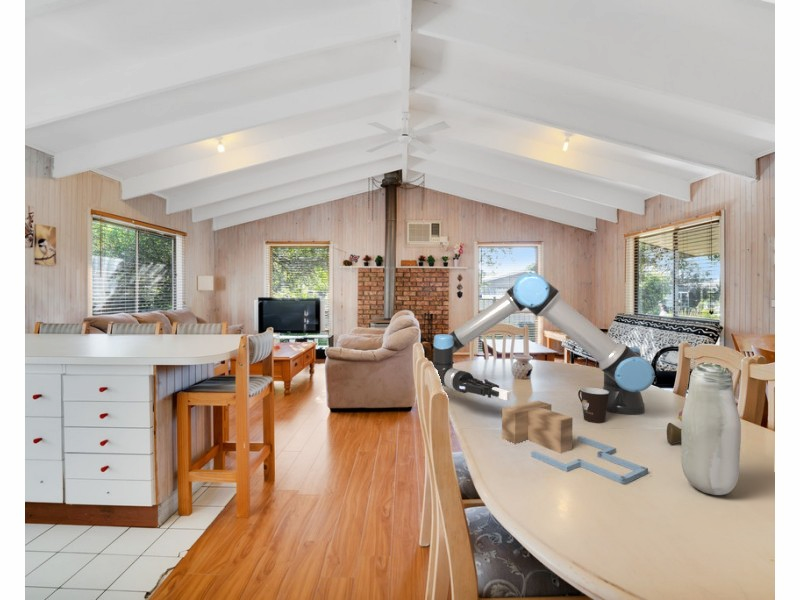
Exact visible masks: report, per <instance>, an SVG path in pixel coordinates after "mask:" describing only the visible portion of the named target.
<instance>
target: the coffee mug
mask: <svg viewBox="0 0 800 600" xmlns="http://www.w3.org/2000/svg"><path fill="white" fill-rule="evenodd" d="M577 396H578V399H579V400H580V403H581V404H582V414H583V420H584V421H585V422H588V423H592V424H604V423H605V422H606V415H607V403H608V396H609V391H607V390H604V389H603V388H599V387H583V388H580V389H579V391H578V393H577Z"/></svg>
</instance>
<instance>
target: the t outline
mask: <svg viewBox="0 0 800 600" xmlns="http://www.w3.org/2000/svg"><path fill="white" fill-rule="evenodd" d="M577 442H580V443H583V444H586V445H588V446H591V447H594V448H597V449H600V451H597V453H596V454H597V456H596V457H598V458H600V459H603V460H605V461H609V462H611V463H614V464H616V465H618V466H622V467H624V468H627V469H629V470H631V472H628V473H626V474H623V475H620V474H618V473H616V472H613V471H610V470H608V469H605V468H603V467H601V466H597V465H596V464H592V463H590V462H588V461H585V460H583V459H580V458H578V459H575V460H573V461H569V462H567V463H564V462H562V461H559V460H557V459H555V458H552V457H550V456H548V455H546V454H543V453H540V452H539V451H535V450H533V451H530V452H531V453H530V454H531V457H532V458H534V459H537V460H540V462H541V461H542V462H543V463H546V464H548V465H550V466H553V467H555V468H557V469H559V470H562V471H564V472H565V473H567V472H569V471H572V470H575V469H577V468H580V467H581V468H583V469H585V470H588V471H590V472H593V473H596V474H598V475H600V476H602V477H605V478H608V479H609V480H610V479H611V480H612V481H614V482H617V483H619V484H622V485H626V484H629V483H631V482H634V481H635V480H637V479H639V478H641V477H644V476H646V475H647V474H649V468H648V467H645V466H642V465H639V464H638V463H637V464H636V463H634V462H631V461H628V460H626V459H622V458H620V457H617V456H615V455H614V454H616V453H617V448H616V447H613V446H611V445H608V444H605V443H602V442H598V441H596V440H593V439H590V438H587V437H584V436H582V435H579V436H577ZM632 470H633V471H632Z"/></svg>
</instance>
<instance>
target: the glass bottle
mask: <svg viewBox="0 0 800 600" xmlns="http://www.w3.org/2000/svg"><path fill="white" fill-rule="evenodd" d="M734 392H735V391H734V379H733V377H732V375H731V373H730V371H729V370H728V369H726V368H724V367H722V366H720V365H716V364H712V363H702V364H699V365H697V366H696V367H694V369H692V371H691V373H690V377H689V386H688V392H687V395H686V398H685V402H684V405H683V409H682V410H683V412H682V422H681V427H680V429H681V437H682V442H681V451H680V452H681V454H680V455H681V456H680V457H681V458H680V459H681V461H680V462H681V469H682V472H683V475H684V476H685V478H686V480H687V481H688V483H690V484H691V485H692V486H693V487H694V488H695V489H697V490H698V491H700V492H702V493H705V494H708V495H714V496H723V495H727V494H729V493H730V492H732V491H733V490H734V489H735V487H736V485H737V483H738V480H739V476H740V462H741V461H740V459H741V458H740V457H741V444H742V441H741V440H742V426H741V425H742V424H741V418H740V413H739V410H738V406H737V403H736V398H735V393H734Z"/></svg>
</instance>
